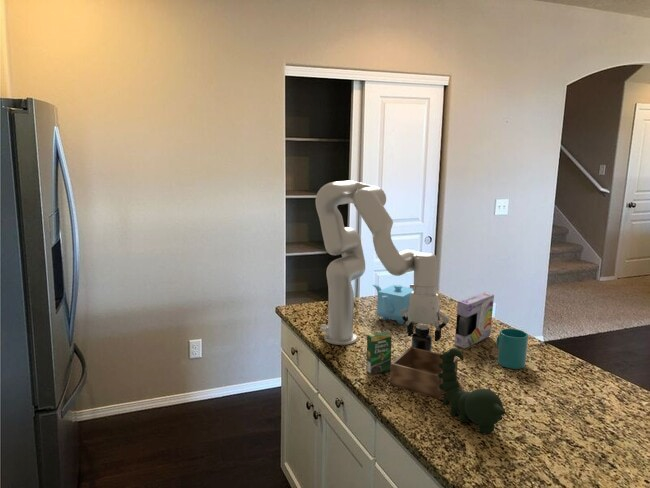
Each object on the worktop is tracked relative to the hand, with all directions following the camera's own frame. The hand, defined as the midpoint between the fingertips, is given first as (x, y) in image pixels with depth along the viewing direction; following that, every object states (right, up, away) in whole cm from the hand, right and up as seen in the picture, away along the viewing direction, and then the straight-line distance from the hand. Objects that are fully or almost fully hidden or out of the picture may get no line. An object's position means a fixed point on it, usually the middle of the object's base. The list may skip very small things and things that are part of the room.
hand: (423, 337), depth 174 cm
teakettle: (-4, 0, +43) cm, 43 cm away
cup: (+29, -9, +1) cm, 31 cm away
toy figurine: (+5, -16, -36) cm, 40 cm away
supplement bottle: (-1, -8, +2) cm, 9 cm away
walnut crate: (-3, -11, -14) cm, 18 cm away
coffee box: (-16, -10, -7) cm, 20 cm away
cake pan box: (+22, -5, +19) cm, 30 cm away
